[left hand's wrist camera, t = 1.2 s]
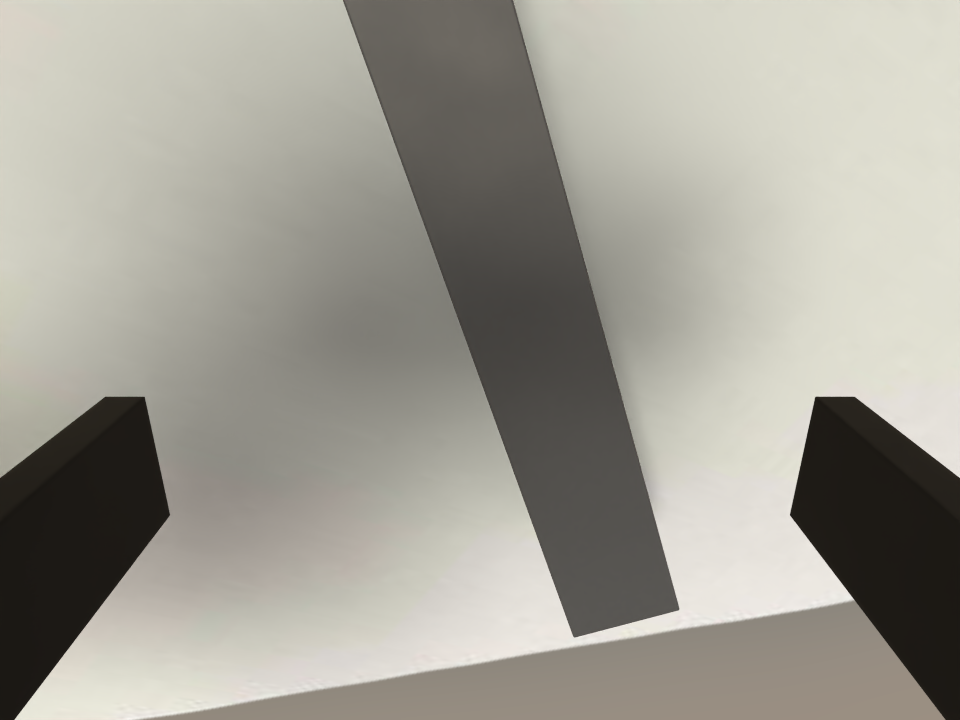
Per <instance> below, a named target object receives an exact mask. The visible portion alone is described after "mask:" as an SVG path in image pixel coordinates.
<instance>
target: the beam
mask: <svg viewBox="0 0 960 720" xmlns="http://www.w3.org/2000/svg"><path fill="white" fill-rule="evenodd" d="M343 2H344V4H345V7H346V10H347V13H348V15H349V18H350V21H351V24H352V27H353V29H354V32H355V35H356V38H357V40H358V43H359V46H360V49H361V51H362V54H363V57H364V60H365V62H366V65H367V68H368V71H369V73H370V76H371V79H372V82H373V85H374V87H375V90H376V93H377V96H378V98H379V101H380V104H381V107H382V109H383V112H384V115H385V118H386V120H387V123H388V126H389V129H390V131H391V134H392V137H393V140H394V143H395V145H396V148H397V151H398V154H399V156H400V159H401V162H402V165H403V167H404V170H405V173H406V176H407V178H408V181H409V184H410V187H411V189H412V192H413V195H414V198H415V201H416V203H417V206H418V209H419V212H420V214H421V217H422V220H423V223H424V225H425V228H426V231H427V234H428V236H429V239H430V242H431V245H432V247H433V250H434V253H435V256H436V259H437V261H438V264H439V267H440V270H441V272H442V275H443V278H444V281H445V283H446V286H447V289H448V292H449V294H450V297H451V300H452V303H453V305H454V308H455V311H456V314H457V317H458V319H459V322H460V325H461V328H462V330H463V333H464V336H465V339H466V341H467V344H468V347H469V350H470V352H471V355H472V358H473V361H474V363H475V366H476V369H477V372H478V374H479V377H480V380H481V383H482V386H483V388H484V391H485V394H486V397H487V399H488V402H489V405H490V408H491V410H492V413H493V416H494V419H495V421H496V424H497V427H498V430H499V432H500V435H501V438H502V441H503V444H504V446H505V449H506V452H507V455H508V457H509V460H510V463H511V466H512V468H513V471H514V474H515V477H516V479H517V482H518V485H519V488H520V490H521V493H522V496H523V499H524V502H525V504H526V507H527V510H528V513H529V515H530V518H531V521H532V524H533V526H534V529H535V532H536V535H537V537H538V540H539V543H540V546H541V548H542V551H543V554H544V557H545V560H546V562H547V565H548V568H549V571H550V573H551V576H552V579H553V582H554V584H555V587H556V590H557V593H558V595H559V598H560V601H561V604H562V606H563V609H564V612H565V615H566V618H567V620H568V623H569V626H570V629H571V631H572V634H573V636H574V637H578V636H582V635H586V634H590V633H594V632H598V631H601V630H605V629H609V628H613V627H617V626H620V625H624V624H628V623H632V622H636V621H639V620H643V619H647V618H651V617H655V616H659V615H662V614H666V613H670V612H674V611H678V610H679V606H678V602H677V598H676V595H675V591H674V587H673V584H672V580H671V576H670V573H669V569H668V565H667V562H666V558H665V554H664V551H663V547H662V543H661V540H660V536H659V533H658V529H657V525H656V522H655V518H654V514H653V511H652V507H651V503H650V500H649V496H648V492H647V489H646V485H645V481H644V478H643V474H642V470H641V467H640V463H639V459H638V456H637V452H636V448H635V445H634V441H633V438H632V434H631V430H630V427H629V423H628V419H627V416H626V412H625V408H624V405H623V401H622V397H621V394H620V390H619V386H618V383H617V379H616V375H615V372H614V368H613V364H612V361H611V357H610V353H609V350H608V346H607V342H606V339H605V335H604V332H603V328H602V324H601V321H600V317H599V313H598V310H597V306H596V302H595V299H594V295H593V291H592V288H591V284H590V280H589V277H588V273H587V269H586V266H585V262H584V258H583V255H582V251H581V247H580V244H579V240H578V236H577V233H576V229H575V226H574V222H573V218H572V215H571V211H570V207H569V204H568V200H567V196H566V193H565V189H564V185H563V182H562V178H561V174H560V171H559V167H558V163H557V160H556V156H555V152H554V149H553V145H552V141H551V138H550V134H549V131H548V127H547V123H546V120H545V116H544V112H543V109H542V105H541V101H540V98H539V94H538V90H537V87H536V83H535V79H534V76H533V72H532V68H531V65H530V61H529V57H528V54H527V50H526V46H525V43H524V39H523V35H522V32H521V28H520V25H519V21H518V17H517V14H516V10H515V6H514V3H513V0H343Z"/></svg>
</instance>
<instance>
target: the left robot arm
mask: <svg viewBox="0 0 960 720" xmlns="http://www.w3.org/2000/svg"><path fill="white" fill-rule="evenodd" d="M169 516H170V513H169V508H168V503H167V499H166V494H165V489H164V485H163V480H162V475H161V471H160V466H159V462H158V457H157V452H156V448H155V443H154V438H153V434H152V429H151V424H150V420H149V415H148V410H147V406H146V401H145V397H105V398H103V399H102V400H101V401H99V402H98V403H97V404H96V405H94V406H93V407H92V408H90V409H89V410H88V411H86V412H85V413H84V414H83V415H81V416H80V417H79V418H77V419H76V420H75V421H74V422H72V423H71V424H70V425H68V426H67V427H66V428H64V429H63V430H62V431H61V432H59V433H58V434H57V435H55V436H54V437H53V438H51V439H50V440H49V441H48V442H46V443H45V444H44V445H42V446H41V447H40V448H39V449H37V450H36V451H35V452H33V453H32V454H31V455H29V456H28V457H27V458H26V459H24V460H23V461H22V462H20V463H19V464H18V465H17V466H15V467H14V468H13V469H11V470H10V471H9V472H7V473H6V474H5V475H4V476H2V477H1V478H0V720H15V718H16V717H17V716H18V714H19V713H20V712H21V710H22V709H23V708H24V706H25V705H26V704H27V702H28V701H29V700H30V698H31V697H32V696H33V695H34V693H35V692H36V691H37V689H38V688H39V687H40V685H41V684H42V683H43V681H44V680H45V679H46V677H47V676H48V675H49V673H50V672H51V671H52V670H53V668H54V667H55V666H56V664H57V663H58V662H59V660H60V659H61V658H62V656H63V655H64V654H65V652H66V651H67V650H68V649H69V647H70V646H71V645H72V643H73V642H74V641H75V639H76V638H77V637H78V635H79V634H80V633H81V631H82V630H83V629H84V627H85V626H86V625H87V624H88V622H89V621H90V620H91V618H92V617H93V616H94V614H95V613H96V612H97V610H98V609H99V608H100V606H101V605H102V604H103V603H104V601H105V600H106V599H107V597H108V596H109V595H110V593H111V592H112V591H113V589H114V588H115V587H116V585H117V584H118V583H119V581H120V580H121V579H122V578H123V576H124V575H125V574H126V572H127V571H128V570H129V568H130V567H131V566H132V564H133V563H134V562H135V560H136V559H137V558H138V556H139V555H140V554H141V553H142V551H143V550H144V549H145V547H146V546H147V545H148V543H149V542H150V541H151V539H152V538H153V537H154V535H155V534H156V533H157V532H158V530H159V529H160V528H161V526H162V525H163V524H164V522H165V521H166V520H167V518H168V517H169ZM790 516H791V517H792V518H793V520H794V521H795V522H796V524H797V525H798V526H799V528H800V529H801V530H802V532H803V533H804V534H805V535H806V537H807V538H808V539H809V541H810V542H811V543H812V545H813V546H814V547H815V549H816V550H817V551H818V553H819V554H820V555H821V556H822V558H823V559H824V560H825V562H826V563H827V564H828V566H829V567H830V568H831V570H832V571H833V572H834V574H835V575H836V576H837V578H838V579H839V580H840V581H841V583H842V584H843V585H844V587H845V588H846V589H847V591H848V592H849V593H850V595H851V596H852V597H853V599H854V600H855V601H856V602H857V604H858V605H859V606H860V608H861V609H862V610H863V612H864V613H865V614H866V616H867V617H868V618H869V620H870V621H871V622H872V624H873V625H874V626H875V627H876V629H877V630H878V631H879V633H880V634H881V635H882V637H883V638H884V639H885V641H886V642H887V643H888V645H889V646H890V647H891V648H892V650H893V651H894V652H895V654H896V655H897V656H898V658H899V659H900V660H901V662H902V663H903V664H904V666H905V667H906V668H907V669H908V671H909V672H910V673H911V675H912V676H913V677H914V679H915V680H916V681H917V683H918V684H919V685H920V687H921V688H922V689H923V691H924V692H925V693H926V695H927V696H928V697H929V698H930V700H931V701H932V702H933V704H934V705H935V706H936V708H937V709H938V710H939V712H940V713H941V714H942V716H943V717H944V718H945V719H946V720H960V478H959V477H958V476H956V475H955V474H954V473H953V472H951V471H950V470H949V469H947V468H946V467H945V466H943V465H942V464H941V463H940V462H938V461H937V460H936V459H934V458H933V457H932V456H931V455H929V454H928V453H927V452H925V451H924V450H923V449H921V448H920V447H919V446H918V445H916V444H915V443H914V442H912V441H911V440H910V439H908V438H907V437H906V436H905V435H903V434H902V433H901V432H899V431H898V430H897V429H896V428H894V427H893V426H892V425H890V424H889V423H888V422H886V421H885V420H884V419H883V418H881V417H880V416H879V415H877V414H876V413H875V412H874V411H872V410H871V409H870V408H868V407H867V406H866V405H864V404H863V403H862V402H861V401H859V400H858V399H857V398H855V397H815V401H814V406H813V410H812V415H811V420H810V424H809V429H808V434H807V438H806V443H805V448H804V452H803V457H802V462H801V466H800V471H799V475H798V480H797V485H796V489H795V494H794V499H793V503H792V508H791V513H790Z"/></svg>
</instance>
